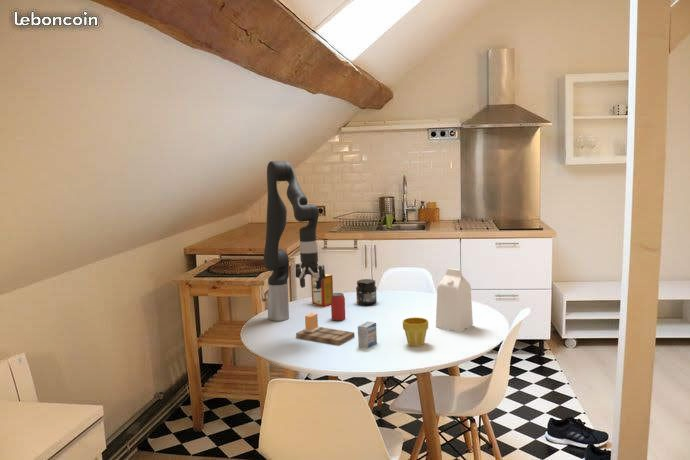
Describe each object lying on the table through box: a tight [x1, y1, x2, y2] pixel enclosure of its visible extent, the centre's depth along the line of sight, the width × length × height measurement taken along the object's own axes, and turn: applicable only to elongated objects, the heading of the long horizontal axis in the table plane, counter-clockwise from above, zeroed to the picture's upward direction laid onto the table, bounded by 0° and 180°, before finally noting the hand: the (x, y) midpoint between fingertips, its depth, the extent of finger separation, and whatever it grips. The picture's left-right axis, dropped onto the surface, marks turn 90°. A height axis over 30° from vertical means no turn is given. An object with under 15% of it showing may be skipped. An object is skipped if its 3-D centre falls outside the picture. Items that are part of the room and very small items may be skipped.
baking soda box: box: [310, 273, 334, 308], centre depth 314 cm, size 10×6×16 cm
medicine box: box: [357, 321, 378, 349], centre depth 249 cm, size 8×4×9 cm, turn 148°
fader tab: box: [302, 312, 321, 333], centre depth 264 cm, size 5×6×7 cm
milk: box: [435, 267, 474, 332], centre depth 269 cm, size 12×12×26 cm
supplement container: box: [355, 278, 378, 307], centre depth 313 cm, size 10×10×12 cm
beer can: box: [330, 292, 346, 322], centre depth 287 cm, size 7×7×12 cm
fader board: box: [295, 326, 355, 346], centre depth 261 cm, size 22×12×2 cm, turn 58°
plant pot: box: [402, 316, 429, 347], centre depth 248 cm, size 10×10×10 cm
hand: (311, 288), depth 263 cm, fingers open, 8 cm apart
